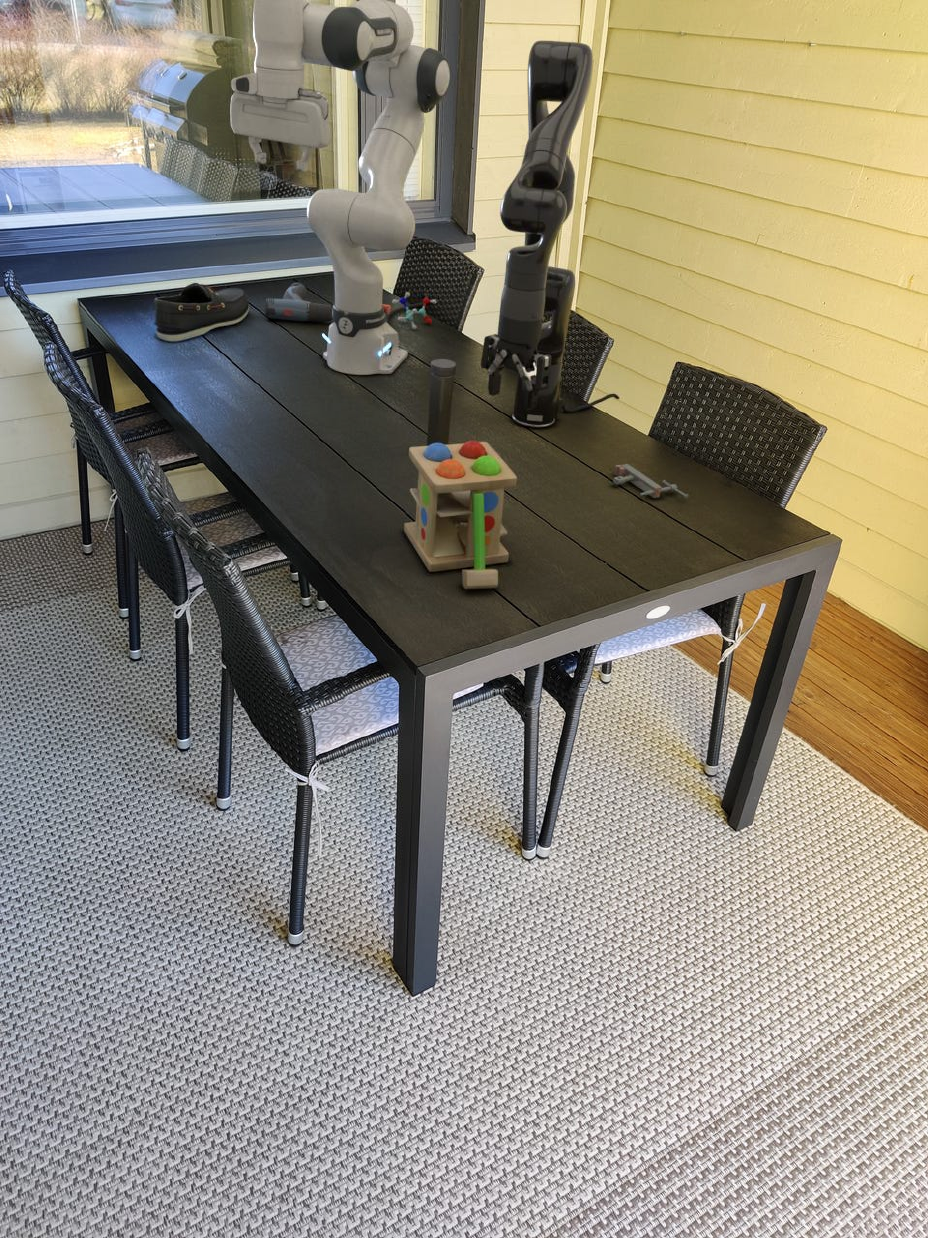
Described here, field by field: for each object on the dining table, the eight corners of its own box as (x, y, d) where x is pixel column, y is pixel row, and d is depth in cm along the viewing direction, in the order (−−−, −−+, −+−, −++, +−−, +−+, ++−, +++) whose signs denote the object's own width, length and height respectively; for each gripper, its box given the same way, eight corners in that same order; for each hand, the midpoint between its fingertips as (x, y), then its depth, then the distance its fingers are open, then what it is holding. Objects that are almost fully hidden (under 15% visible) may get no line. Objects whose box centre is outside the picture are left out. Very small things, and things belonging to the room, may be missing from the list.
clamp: (603, 467, 195) (642, 459, 200) (601, 477, 197) (640, 469, 201) (650, 500, 185) (691, 491, 190) (648, 510, 186) (688, 501, 191)
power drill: (344, 304, 276) (335, 327, 259) (277, 298, 275) (264, 321, 258) (344, 285, 273) (335, 306, 256) (277, 279, 272) (264, 300, 255)
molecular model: (429, 321, 258) (417, 284, 257) (398, 334, 262) (385, 297, 260) (444, 323, 268) (432, 287, 267) (414, 335, 272) (402, 300, 271)
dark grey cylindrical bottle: (450, 459, 198) (457, 369, 188) (429, 460, 197) (435, 369, 186) (443, 449, 202) (450, 361, 191) (423, 451, 200) (429, 361, 190)
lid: (458, 376, 188) (459, 367, 187) (434, 376, 187) (435, 367, 186) (451, 367, 192) (451, 358, 191) (427, 367, 191) (428, 359, 190)
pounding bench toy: (528, 589, 159) (542, 490, 149) (446, 600, 155) (455, 499, 145) (478, 522, 177) (488, 429, 167) (403, 530, 172) (408, 435, 162)
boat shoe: (267, 317, 262) (265, 277, 257) (175, 343, 238) (170, 300, 233) (232, 308, 268) (229, 269, 262) (138, 333, 244) (133, 291, 238)
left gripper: (337, 91, 179) (336, 173, 186) (244, 76, 185) (247, 156, 193) (319, 93, 174) (319, 177, 182) (223, 78, 180) (227, 160, 188)
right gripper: (567, 319, 166) (554, 410, 175) (505, 297, 174) (496, 385, 183) (538, 327, 162) (527, 419, 171) (476, 304, 169) (468, 393, 178)
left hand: (281, 166), depth 187 cm, fingers open, 8 cm apart
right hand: (511, 401), depth 177 cm, fingers open, 8 cm apart
